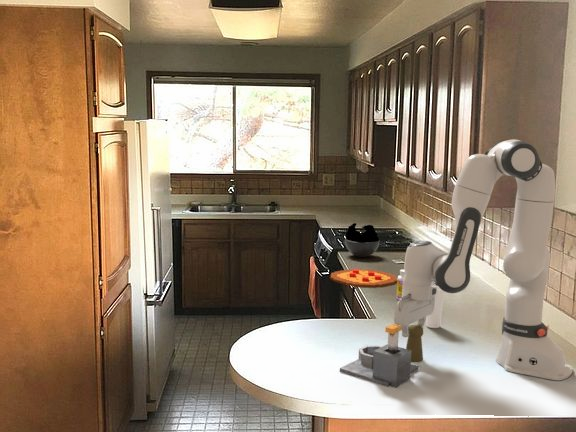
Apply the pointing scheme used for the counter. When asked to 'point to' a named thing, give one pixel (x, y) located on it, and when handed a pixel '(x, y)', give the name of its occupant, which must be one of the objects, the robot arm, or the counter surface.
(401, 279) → the supplement bottle
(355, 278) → the pizza
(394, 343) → the wedge pin
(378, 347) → the gray socket base
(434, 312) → the drinking glass
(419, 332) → the cork
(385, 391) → the counter surface
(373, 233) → the coal bowl
